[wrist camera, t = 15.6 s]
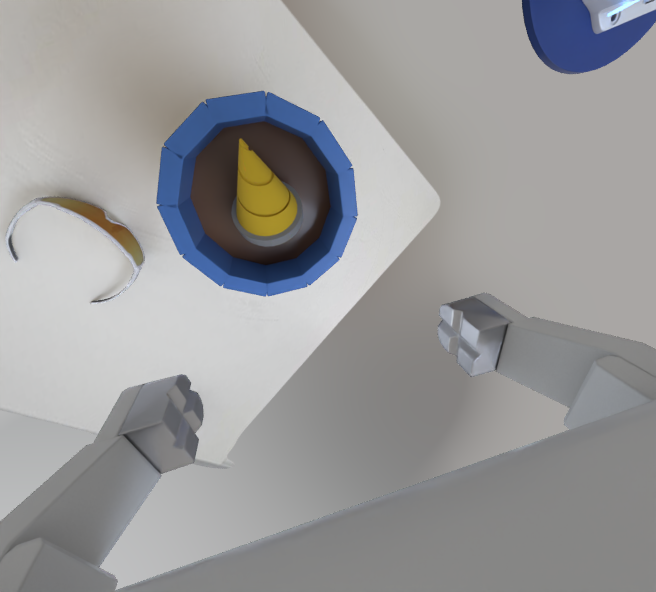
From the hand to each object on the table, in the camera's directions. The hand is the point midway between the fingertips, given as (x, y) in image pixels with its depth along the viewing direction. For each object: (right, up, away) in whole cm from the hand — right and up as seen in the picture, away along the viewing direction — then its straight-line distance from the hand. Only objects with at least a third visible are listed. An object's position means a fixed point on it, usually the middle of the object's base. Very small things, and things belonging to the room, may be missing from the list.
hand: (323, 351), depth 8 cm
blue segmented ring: (-5, +10, +14) cm, 18 cm away
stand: (-10, +19, +31) cm, 37 cm away
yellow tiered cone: (-6, +10, +14) cm, 18 cm away
